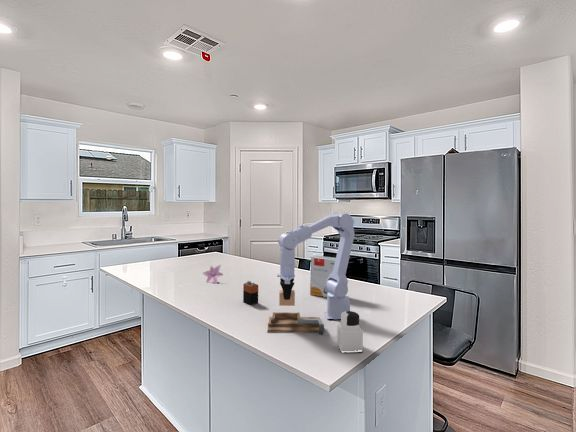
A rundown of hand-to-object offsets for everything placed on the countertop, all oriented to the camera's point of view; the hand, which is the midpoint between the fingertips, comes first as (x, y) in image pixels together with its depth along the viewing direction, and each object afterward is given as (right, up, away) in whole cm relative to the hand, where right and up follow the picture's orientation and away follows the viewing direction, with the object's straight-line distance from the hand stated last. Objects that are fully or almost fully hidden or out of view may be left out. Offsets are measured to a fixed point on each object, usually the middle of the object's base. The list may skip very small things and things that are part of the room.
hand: (286, 297), depth 129 cm
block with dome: (0, -3, 0) cm, 2 cm away
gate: (+9, -11, -7) cm, 15 cm away
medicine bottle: (+21, -12, -21) cm, 32 cm away
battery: (-17, -9, +27) cm, 33 cm away
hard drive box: (+20, -9, +41) cm, 47 cm away
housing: (+3, -11, -1) cm, 11 cm away
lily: (-45, -7, +67) cm, 81 cm away
